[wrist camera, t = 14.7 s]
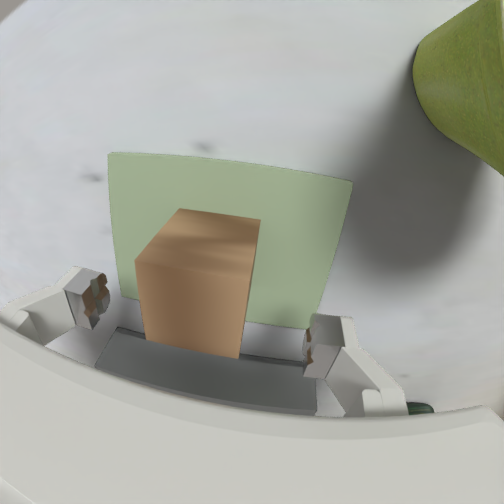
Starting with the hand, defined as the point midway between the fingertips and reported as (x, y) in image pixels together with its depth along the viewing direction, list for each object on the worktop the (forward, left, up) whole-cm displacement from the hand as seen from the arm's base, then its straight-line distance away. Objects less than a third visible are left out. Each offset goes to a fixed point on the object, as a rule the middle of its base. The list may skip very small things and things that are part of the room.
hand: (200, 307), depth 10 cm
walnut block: (0, 0, -5) cm, 5 cm away
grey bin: (0, +13, -5) cm, 14 cm away
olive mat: (0, 0, -5) cm, 5 cm away
